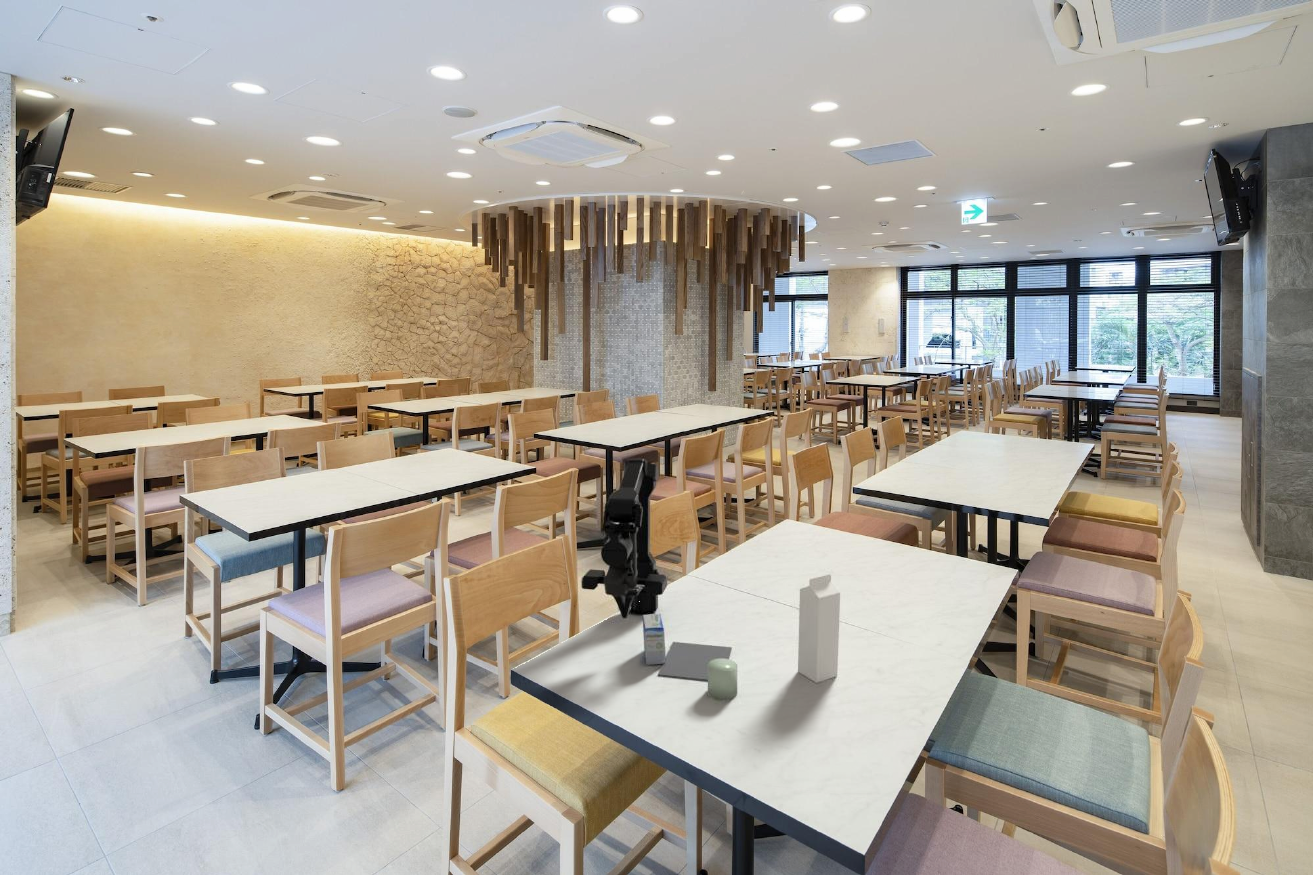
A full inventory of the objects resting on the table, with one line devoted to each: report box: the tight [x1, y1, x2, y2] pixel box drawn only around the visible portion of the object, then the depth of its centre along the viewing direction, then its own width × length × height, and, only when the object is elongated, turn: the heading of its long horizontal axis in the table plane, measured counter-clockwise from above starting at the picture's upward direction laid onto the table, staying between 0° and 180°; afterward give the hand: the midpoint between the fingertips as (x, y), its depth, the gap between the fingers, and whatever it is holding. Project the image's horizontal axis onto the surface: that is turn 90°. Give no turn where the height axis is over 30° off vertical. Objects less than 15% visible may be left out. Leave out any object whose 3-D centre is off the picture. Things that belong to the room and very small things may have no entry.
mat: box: [657, 641, 732, 682], centre depth 155 cm, size 14×16×1 cm
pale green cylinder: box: [707, 658, 738, 701], centre depth 141 cm, size 6×6×6 cm
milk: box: [797, 573, 841, 684], centre depth 147 cm, size 6×6×22 cm
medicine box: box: [642, 613, 667, 666], centre depth 156 cm, size 8×4×9 cm, turn 5°
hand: (624, 617), depth 157 cm, fingers closed
